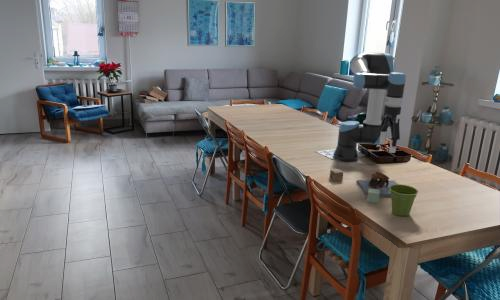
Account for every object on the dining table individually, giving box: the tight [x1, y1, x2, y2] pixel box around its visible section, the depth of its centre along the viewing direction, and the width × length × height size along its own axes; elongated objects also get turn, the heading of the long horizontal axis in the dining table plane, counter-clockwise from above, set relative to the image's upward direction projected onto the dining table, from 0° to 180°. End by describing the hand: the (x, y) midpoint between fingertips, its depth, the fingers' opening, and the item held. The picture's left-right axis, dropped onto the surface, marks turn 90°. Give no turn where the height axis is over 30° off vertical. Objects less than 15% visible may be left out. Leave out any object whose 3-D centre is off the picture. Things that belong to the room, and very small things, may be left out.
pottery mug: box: [368, 171, 390, 188], centre depth 202 cm, size 12×10×8 cm
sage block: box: [366, 188, 380, 204], centre depth 189 cm, size 5×5×5 cm
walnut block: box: [329, 168, 344, 182], centre depth 215 cm, size 5×5×5 cm
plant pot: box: [390, 183, 420, 217], centre depth 176 cm, size 12×12×11 cm
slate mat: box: [356, 179, 398, 198], centre depth 204 cm, size 18×20×2 cm
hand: (386, 148), depth 198 cm, fingers open, 13 cm apart
